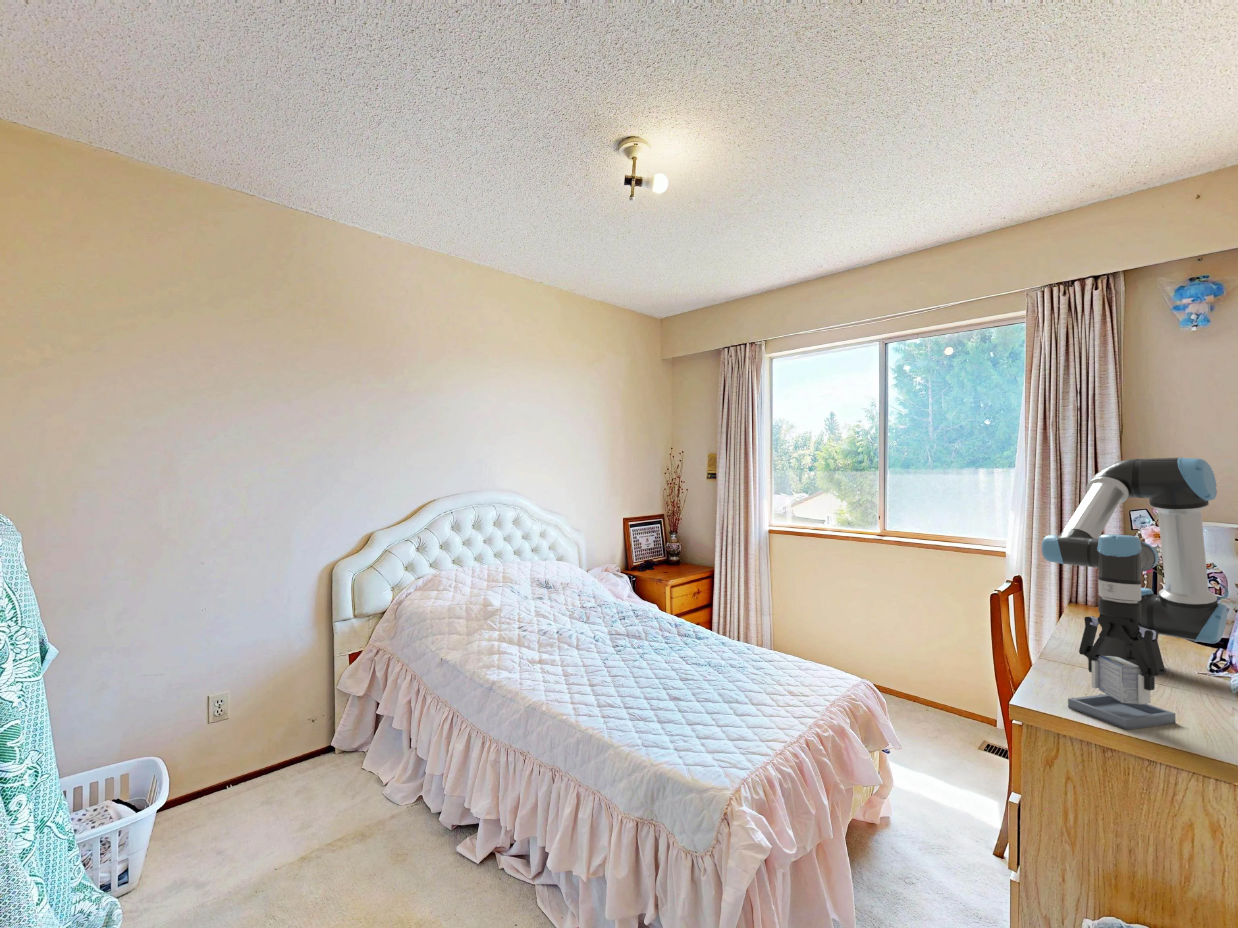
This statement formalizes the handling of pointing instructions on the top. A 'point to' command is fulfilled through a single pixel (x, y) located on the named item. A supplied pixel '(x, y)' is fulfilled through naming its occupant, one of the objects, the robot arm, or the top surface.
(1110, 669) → the medicine box
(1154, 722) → the tray
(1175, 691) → the top surface
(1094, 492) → the robot arm
